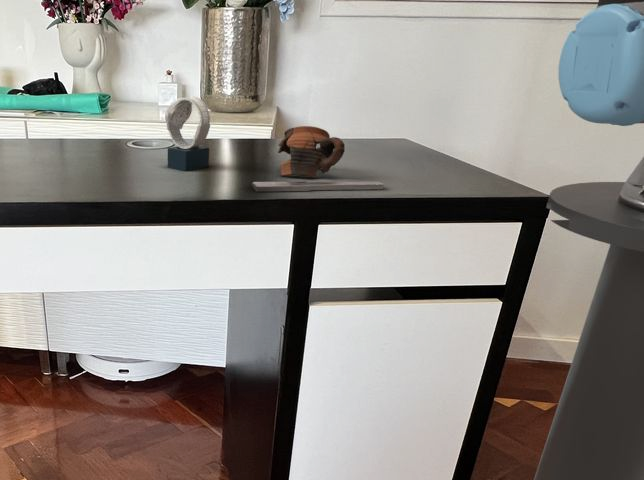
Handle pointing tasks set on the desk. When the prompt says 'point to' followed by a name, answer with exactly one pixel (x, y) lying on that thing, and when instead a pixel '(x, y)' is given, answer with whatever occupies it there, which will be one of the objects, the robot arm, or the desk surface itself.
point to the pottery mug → (309, 151)
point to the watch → (184, 154)
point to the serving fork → (315, 186)
